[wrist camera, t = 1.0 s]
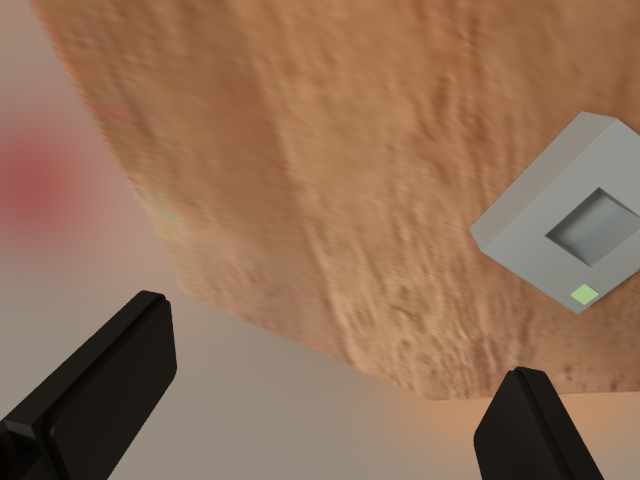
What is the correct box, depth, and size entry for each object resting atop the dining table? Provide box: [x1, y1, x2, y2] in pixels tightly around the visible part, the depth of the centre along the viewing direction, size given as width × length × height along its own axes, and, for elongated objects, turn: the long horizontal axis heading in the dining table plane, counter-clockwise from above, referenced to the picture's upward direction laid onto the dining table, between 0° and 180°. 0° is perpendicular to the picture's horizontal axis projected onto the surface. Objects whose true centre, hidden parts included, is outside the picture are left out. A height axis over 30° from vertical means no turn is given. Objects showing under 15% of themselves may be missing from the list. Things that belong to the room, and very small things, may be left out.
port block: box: [469, 111, 640, 315], centre depth 32 cm, size 14×12×5 cm
